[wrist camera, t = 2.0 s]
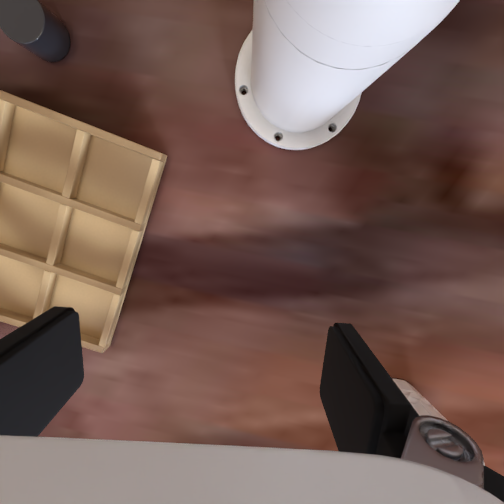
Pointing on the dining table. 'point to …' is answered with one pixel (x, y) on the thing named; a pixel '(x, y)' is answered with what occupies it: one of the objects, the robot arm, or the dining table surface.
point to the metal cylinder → (34, 28)
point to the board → (69, 216)
